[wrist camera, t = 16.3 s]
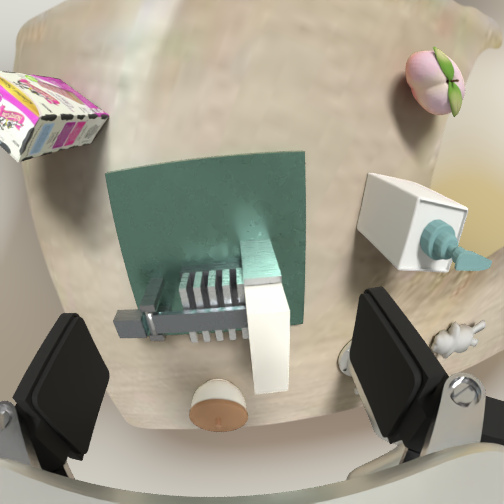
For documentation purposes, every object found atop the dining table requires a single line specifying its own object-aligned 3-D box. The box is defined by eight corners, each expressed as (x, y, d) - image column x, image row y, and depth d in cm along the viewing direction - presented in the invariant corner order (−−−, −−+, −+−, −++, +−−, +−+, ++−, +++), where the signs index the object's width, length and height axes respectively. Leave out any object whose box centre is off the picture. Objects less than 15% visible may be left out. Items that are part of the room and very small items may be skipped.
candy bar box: (111, 113, 32) (41, 117, 17) (91, 144, 33) (18, 166, 18) (60, 75, 28) (-17, 67, 13) (42, 105, 29) (-37, 112, 15)
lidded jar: (254, 378, 53) (258, 417, 45) (232, 406, 57) (234, 442, 49) (202, 364, 51) (199, 405, 42) (185, 394, 55) (181, 431, 46)
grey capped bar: (277, 318, 39) (279, 329, 37) (124, 328, 38) (120, 339, 36) (276, 296, 37) (279, 307, 35) (117, 308, 36) (112, 319, 34)
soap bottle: (402, 234, 42) (477, 299, 25) (355, 228, 41) (426, 301, 24) (415, 182, 39) (505, 228, 22) (367, 171, 38) (456, 216, 21)
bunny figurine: (445, 334, 49) (492, 324, 48) (435, 319, 53) (482, 311, 52) (431, 365, 53) (478, 354, 52) (424, 350, 57) (469, 341, 56)
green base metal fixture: (301, 319, 48) (317, 367, 38) (148, 331, 47) (134, 379, 37) (302, 150, 36) (330, 163, 26) (107, 172, 35) (69, 192, 25)
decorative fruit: (444, 103, 33) (488, 106, 24) (409, 119, 35) (452, 125, 26) (420, 48, 29) (463, 39, 20) (382, 61, 31) (423, 50, 22)
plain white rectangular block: (280, 356, 38) (288, 390, 32) (251, 359, 38) (254, 394, 32) (280, 278, 32) (290, 310, 27) (243, 282, 32) (247, 315, 27)
